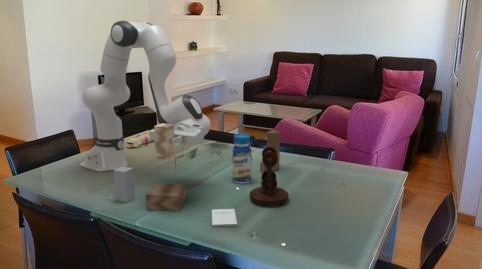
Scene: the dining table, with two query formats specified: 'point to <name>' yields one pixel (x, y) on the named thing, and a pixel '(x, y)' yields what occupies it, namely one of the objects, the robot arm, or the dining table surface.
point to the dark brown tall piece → (269, 182)
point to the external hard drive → (223, 218)
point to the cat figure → (138, 141)
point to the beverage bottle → (241, 159)
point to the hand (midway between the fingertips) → (163, 140)
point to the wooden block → (274, 142)
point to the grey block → (124, 184)
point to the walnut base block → (166, 196)
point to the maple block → (164, 141)
